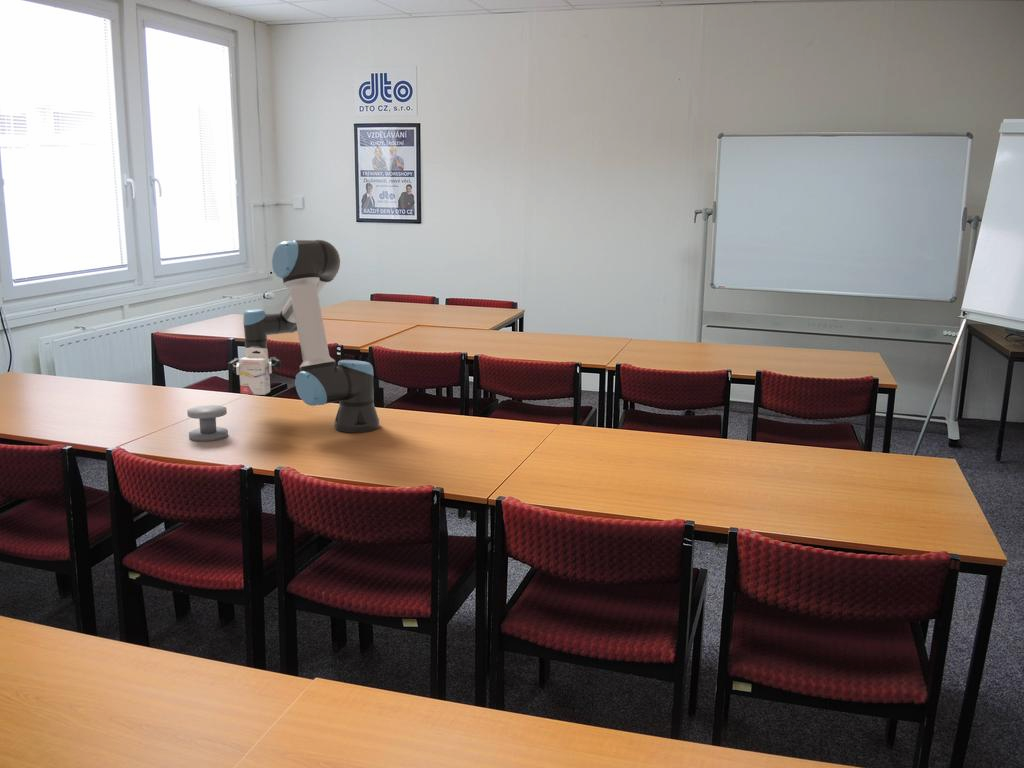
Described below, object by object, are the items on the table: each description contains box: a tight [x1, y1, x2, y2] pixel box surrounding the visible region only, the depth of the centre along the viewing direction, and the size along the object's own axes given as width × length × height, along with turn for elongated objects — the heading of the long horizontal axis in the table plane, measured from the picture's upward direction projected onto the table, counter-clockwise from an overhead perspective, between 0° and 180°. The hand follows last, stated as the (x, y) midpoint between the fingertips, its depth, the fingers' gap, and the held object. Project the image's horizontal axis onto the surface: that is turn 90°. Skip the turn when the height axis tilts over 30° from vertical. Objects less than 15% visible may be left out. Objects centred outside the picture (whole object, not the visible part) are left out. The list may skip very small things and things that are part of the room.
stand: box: [186, 404, 229, 442], centre depth 271 cm, size 12×12×9 cm
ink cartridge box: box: [238, 347, 271, 396], centre depth 273 cm, size 9×5×15 cm, turn 83°
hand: (254, 370), depth 269 cm, fingers closed on ink cartridge box, 9 cm apart
